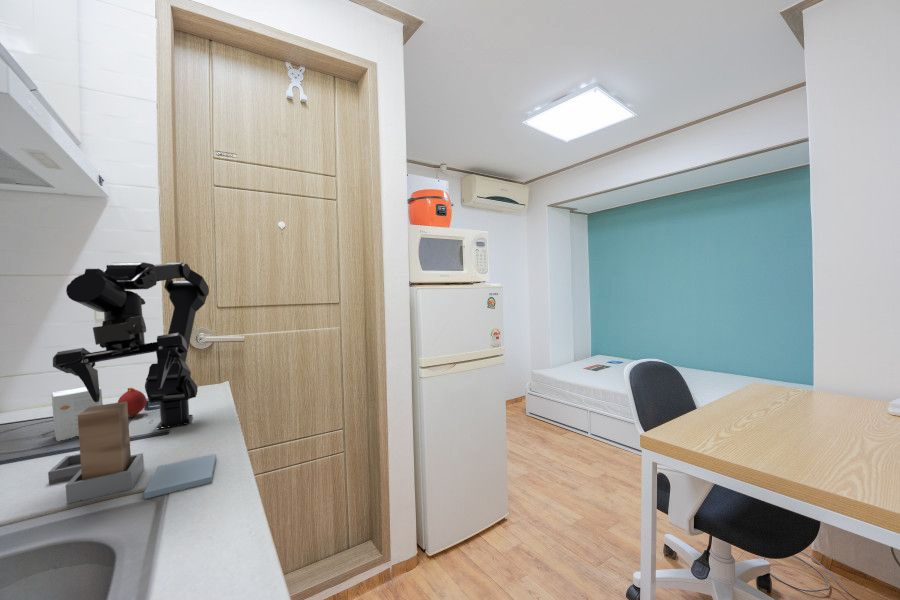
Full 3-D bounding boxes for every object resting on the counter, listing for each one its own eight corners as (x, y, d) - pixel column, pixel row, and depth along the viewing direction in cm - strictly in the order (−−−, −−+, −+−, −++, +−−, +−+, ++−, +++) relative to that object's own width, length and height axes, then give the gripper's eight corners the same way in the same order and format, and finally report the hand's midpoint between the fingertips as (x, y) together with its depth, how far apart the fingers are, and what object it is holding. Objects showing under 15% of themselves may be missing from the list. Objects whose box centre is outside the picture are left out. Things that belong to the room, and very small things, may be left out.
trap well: (66, 466, 69) (65, 456, 69) (114, 457, 72) (114, 447, 72) (48, 483, 63) (48, 472, 63) (102, 472, 66) (101, 461, 66)
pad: (157, 471, 66) (157, 466, 66) (216, 458, 70) (215, 453, 70) (144, 499, 57) (143, 492, 57) (211, 482, 61) (211, 476, 61)
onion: (132, 412, 99) (131, 384, 99) (152, 412, 99) (151, 383, 99) (112, 420, 93) (110, 390, 93) (133, 420, 93) (131, 390, 93)
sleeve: (86, 480, 63) (85, 464, 63) (144, 468, 67) (143, 452, 67) (66, 503, 56) (65, 485, 56) (132, 488, 60) (131, 471, 60)
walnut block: (94, 482, 63) (89, 406, 62) (131, 474, 65) (127, 401, 65) (83, 496, 58) (77, 415, 58) (123, 487, 61) (118, 409, 60)
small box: (101, 425, 90) (98, 384, 90) (105, 430, 87) (102, 387, 86) (54, 436, 84) (51, 392, 83) (56, 442, 80) (52, 396, 80)
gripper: (35, 312, 61) (35, 402, 56) (171, 296, 70) (180, 372, 65) (67, 333, 70) (68, 412, 65) (183, 316, 79) (192, 385, 75)
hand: (129, 394), depth 68 cm, fingers open, 9 cm apart
